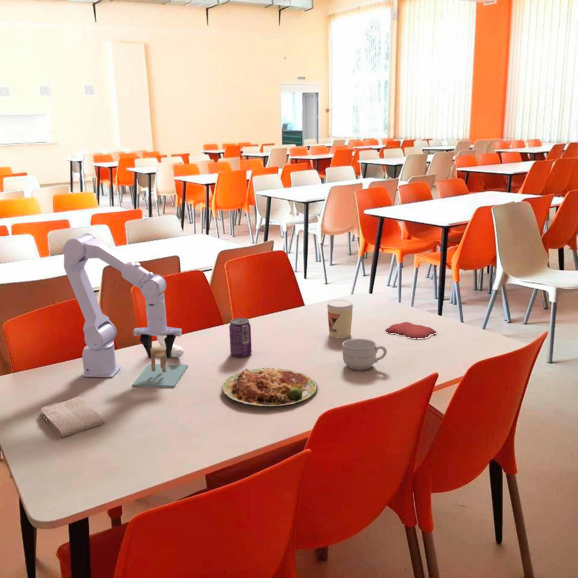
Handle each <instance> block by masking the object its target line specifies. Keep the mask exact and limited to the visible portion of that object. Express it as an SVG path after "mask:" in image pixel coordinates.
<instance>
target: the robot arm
mask: <svg viewBox="0 0 578 578" xmlns="http://www.w3.org/2000/svg"><path fill="white" fill-rule="evenodd" d="M61 250H62V253H63V268H64V271H65V273H66V276H67V279H68V280H69V283H70V287H71V288H72V290H73V293H74V296H75V298H76V301H77V304H78V306H79V308H80V310H81V313H82V316H83V318H84V324H83V328H82V330H83V333H84V343H85V344H86V346H84V348H83V349H82V353H81V355H82V367H83V377H84V378H85V377H87V378H88V377H91V378H93V377H95V378H112V377H114V376H115V375H116V374H117V373H118V371H120V369H121V368H122V366H121V365H117V363H116V361H117V360H116V354H115V353H116V352H115V340H114V339H115V338H116V336H117V328H116V326H115V325H114V324H113V323H112V321H111V320H110V317H109V316H107V315H106V314H104V313H103V311H102V308H101V307H100V304H99V302H98V299H97V297H96V294H95V291H94V289H93V287H92V283H91V281H90V279H89V277H88V273H87V272H86V271H87V270H86V268H85V265H86V264H87V262H88V261H89V260H90V259H99V260H101V261H102V262H104V263H106V264H107V265H109V266H110V267H112V268H114V269H116V270H118V271H119V272H121V274H120V275H121V278H123V279H124V280H126V281H127V282H129V283H130V284H132V285H133V286H134V287H136V288H138V289H140V293H141V294H142V296H143V297H144V300H145V311H146V312H145V313H146V324H147V327H134V329H133V336H134V337H138V336H140V338H139V342H140V343H141V345H142V346H143V347H144V349H145V352H146V355H147V357H148V359H151V351H150V349H151V348H152V347H153V337H156V336H167V337H166V338H165V339H164V341H165V345H166V359H167V360H169V359H171V351H172V346H173V343H174V344H175V340H176V338H177V337H181V336H182V334H183V331H182V330H183V328H178V327H171V326H167V311H166V302H165V301H166V300H165V299H166V298H165V290H166V289H167V286H168V285H167V284H168V283H167V282H166V281H167V280H165V278H164V277H163V276H162V275H161V274H154V273H153V272H152V271H148V270H147V269H145V268H144V267H142V265H141V263H140V262H135V261H130V262H129V261H127V260H125V259H124V258H123V257H121V256H120V255H119V254H117V253H116V252H115V251H113V250H112V249H111V248H109V246H107V245H105V244H104V242H103V241H102V240H101V239H100V238H98V237H97V236H95V235H94V234H93V233H89V232H87V233H84V234H82V235H79V236H76V237H74V238H73V237H72V238H70V239H68V240H67V241H66V242H65V243H64V245H63V247H62V249H61ZM88 259H89V260H88Z"/></svg>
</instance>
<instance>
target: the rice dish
mask: <svg viewBox="0 0 578 578" xmlns="http://www.w3.org/2000/svg"><path fill="white" fill-rule="evenodd" d="M308 387H309V388H308ZM221 390H222V392H223V393H224V395H226V396H227V397H228V398H230V399H231V400H233V401H236V402H238V403H241V404H245V405H252V406H257V407H262V406H265V407H275V406H286V405H287V406H288V405H292V404H295V403H298V402H304V401H305V400H308V399H310V397H312V396H313V395H314V394H315V393H317V390H318V383H317V382H316V381H315V380H314V379H313V378H312V377H310V376H309V375H307V374H305V373H302V372H299V371H296V370H290V369H285V368H277V367H272V368H271V367H262V368H254V369H248V368H244V369H242V371H239V372H237V373H235V374H233V375H231V376H229V377H227V379H224V381H223V383H222V385H221ZM304 392H307V394H305V395H303V393H304ZM266 404H267V405H266Z"/></svg>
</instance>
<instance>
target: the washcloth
mask: <svg viewBox="0 0 578 578" xmlns="http://www.w3.org/2000/svg"><path fill="white" fill-rule="evenodd" d="M40 413H41V415H42V417H43V416H44V417H45V418H44V417H43V419H45V420H46V419H47V420H46V421H45V420H44V421H45V422H46V423H47V424H48V425H49V427H50V428H51V429H52V430H53V431H54V433H56V435H57V436H58V437H60V438H64V437H68V436H70V435H74V434H75V433H78V432H81V431H87V430H89V429H92V428H95V427H98V426H101V425H103V424H104V423H105V421H104V419H103V417H102V416H101V415H100V414H99V413H98V412H97V411H96V410H95V409H94V408H93V407H92V406H91V405H90V404H89V403H88V402H87V401H85V399H84V398H82V397H81V396H77V397H72V398H70V399H69V400H66V401H62V402H55V403H51V404H49V405H45V406H43V407H41V410H40Z"/></svg>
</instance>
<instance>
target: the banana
mask: <svg viewBox="0 0 578 578" xmlns="http://www.w3.org/2000/svg"><path fill="white" fill-rule="evenodd" d="M155 337H156V340H157V342H158V344H159V346H165V347H166V345H165V341H164V339H165V338H166V337H167V336H155ZM184 352H185V351H184V348H183V347H181V345H176V344H175V342H174V343H173V346H172V351H171V357H172V358H180V357H182V356H183V355H184ZM171 357H170V358H171Z"/></svg>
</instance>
